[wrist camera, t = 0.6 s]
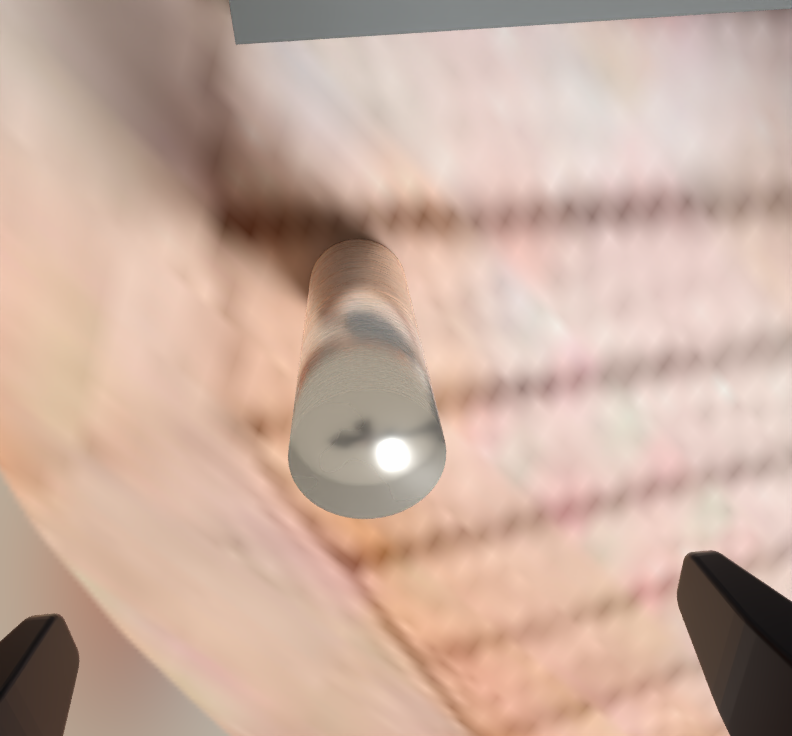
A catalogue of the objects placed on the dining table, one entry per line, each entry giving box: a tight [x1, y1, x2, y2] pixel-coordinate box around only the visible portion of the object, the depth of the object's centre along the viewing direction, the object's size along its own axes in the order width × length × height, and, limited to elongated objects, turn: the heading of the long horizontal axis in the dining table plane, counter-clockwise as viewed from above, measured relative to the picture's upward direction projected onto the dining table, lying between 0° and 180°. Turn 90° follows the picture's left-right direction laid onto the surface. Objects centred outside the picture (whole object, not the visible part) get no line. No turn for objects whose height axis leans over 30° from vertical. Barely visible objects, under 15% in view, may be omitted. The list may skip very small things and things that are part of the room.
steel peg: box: [288, 239, 446, 519], centre depth 16 cm, size 3×3×9 cm
